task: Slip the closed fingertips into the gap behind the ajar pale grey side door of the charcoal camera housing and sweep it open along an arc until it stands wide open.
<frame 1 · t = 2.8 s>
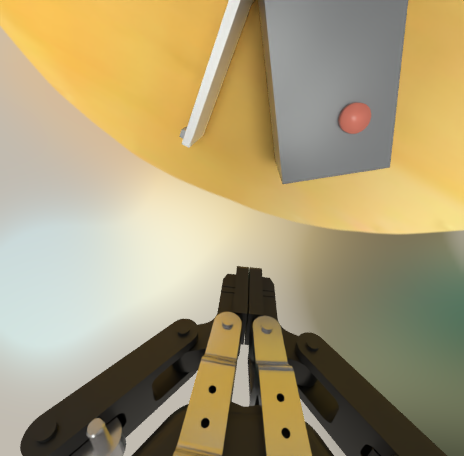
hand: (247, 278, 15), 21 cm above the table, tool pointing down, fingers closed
side door: (217, 65, 24), point 4 cm above the table, hinge at 35.0°
camera housing: (311, 75, 28), on the table
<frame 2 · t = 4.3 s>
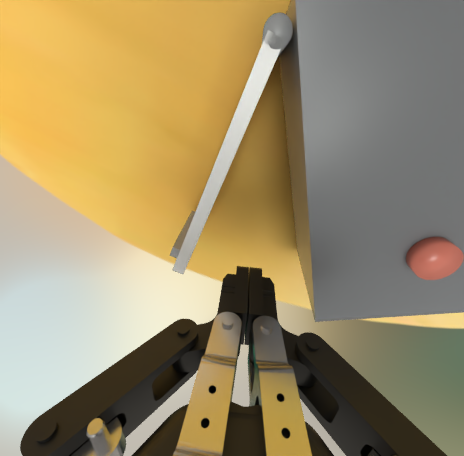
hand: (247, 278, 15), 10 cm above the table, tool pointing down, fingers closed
side door: (222, 158, 17), point 4 cm above the table, hinge at 35.0°
camera housing: (350, 153, 20), on the table
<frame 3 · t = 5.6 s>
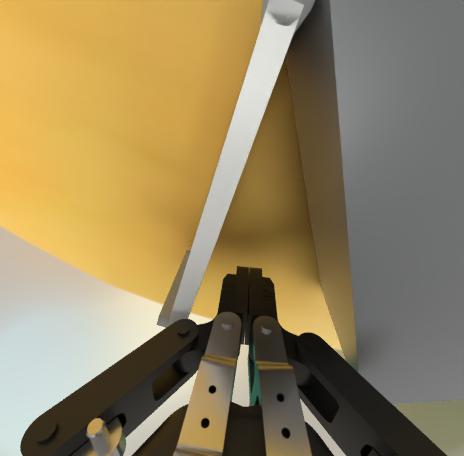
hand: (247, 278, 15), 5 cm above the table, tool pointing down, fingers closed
side door: (217, 191, 12), point 4 cm above the table, hinge at 35.0°, touching gripper
camera housing: (385, 166, 15), on the table
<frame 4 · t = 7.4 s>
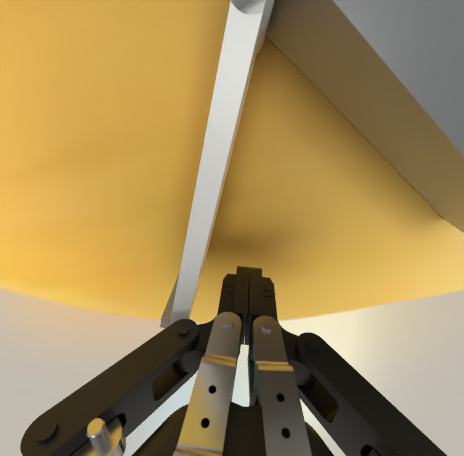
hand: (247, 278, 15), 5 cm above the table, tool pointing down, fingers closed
side door: (209, 190, 12), point 4 cm above the table, hinge at 65.9°, touching gripper
camera housing: (441, 53, 13), on the table
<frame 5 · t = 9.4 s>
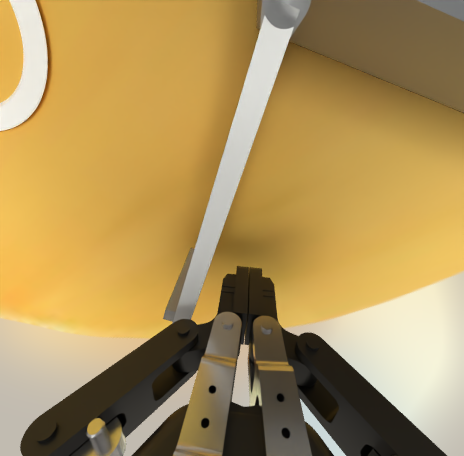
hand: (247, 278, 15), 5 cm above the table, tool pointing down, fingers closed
side door: (220, 189, 13), point 4 cm above the table, hinge at 89.5°
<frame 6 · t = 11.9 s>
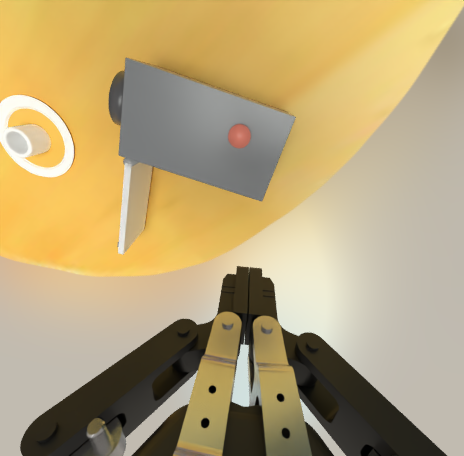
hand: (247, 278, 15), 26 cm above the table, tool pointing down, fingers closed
candle holder: (39, 138, 39), on the table
side door: (135, 199, 37), point 5 cm above the table, hinge at 89.5°
camera housing: (213, 127, 35), on the table
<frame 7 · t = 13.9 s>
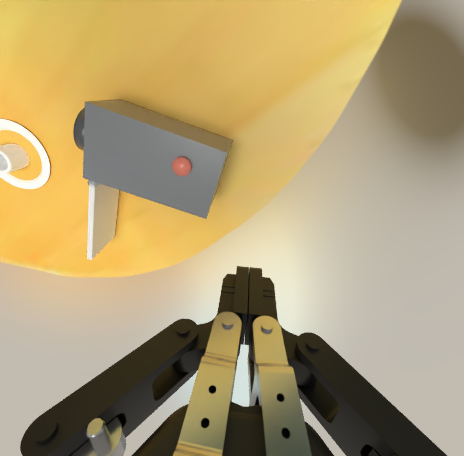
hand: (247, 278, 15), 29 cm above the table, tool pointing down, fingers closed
candle holder: (19, 155, 44), on the table
side door: (103, 211, 42), point 5 cm above the table, hinge at 89.5°
camera housing: (171, 151, 40), on the table
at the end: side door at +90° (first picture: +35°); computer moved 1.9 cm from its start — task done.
